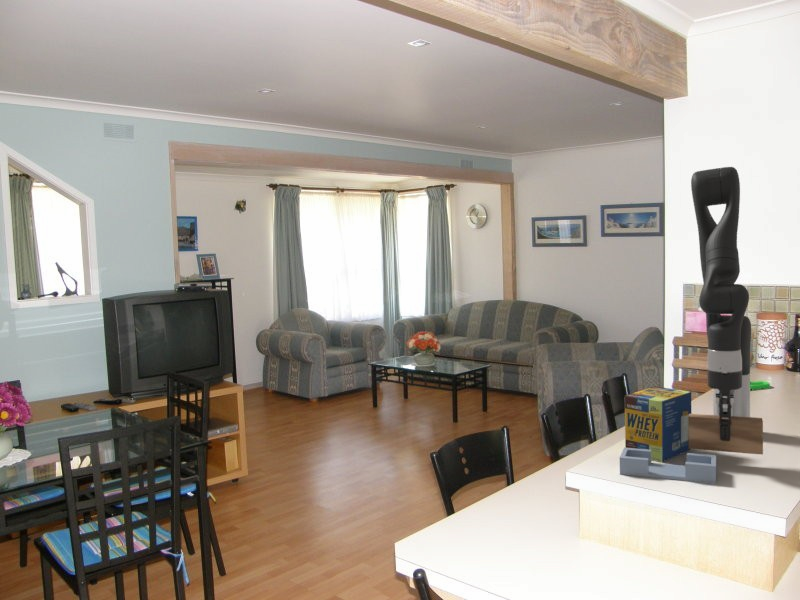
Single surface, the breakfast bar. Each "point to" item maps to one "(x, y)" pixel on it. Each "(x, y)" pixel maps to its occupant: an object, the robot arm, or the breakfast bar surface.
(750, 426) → the slat
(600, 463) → the breakfast bar surface
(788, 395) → the breakfast bar surface
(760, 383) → the mechanical part
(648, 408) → the protein box
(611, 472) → the breakfast bar surface
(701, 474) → the grey slotted holder
